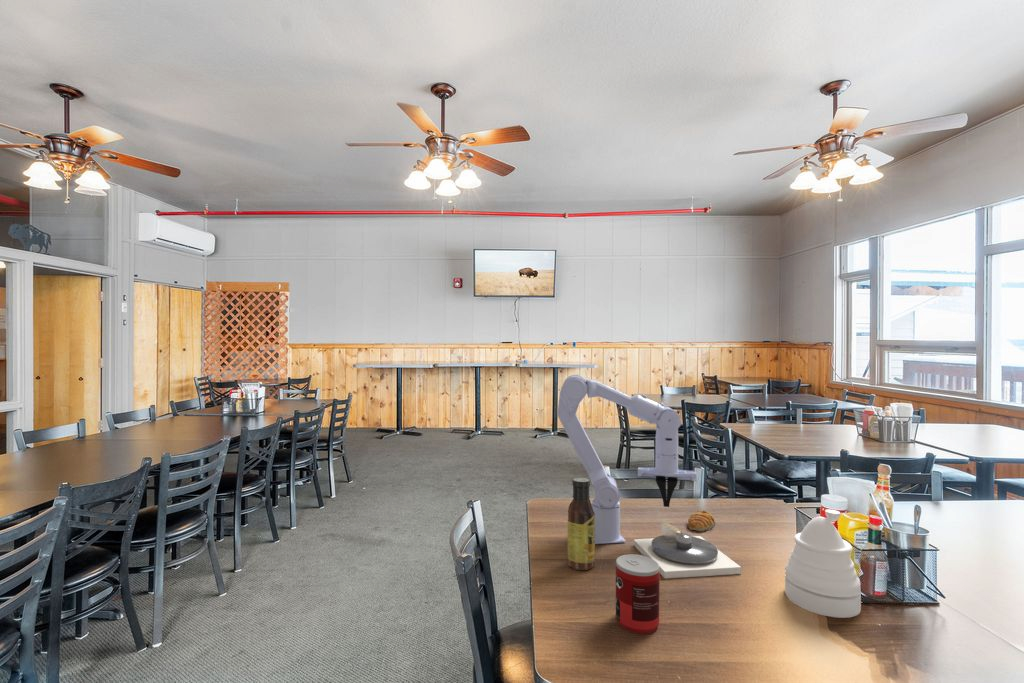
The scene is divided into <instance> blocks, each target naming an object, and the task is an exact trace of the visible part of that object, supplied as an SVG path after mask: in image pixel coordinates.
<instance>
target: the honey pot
mask: <svg viewBox="0 0 1024 683" xmlns="http://www.w3.org/2000/svg"><path fill="white" fill-rule="evenodd" d="M824 512H825V516H826V517H824V516H815V517H814V518H812V519H811V520H809V522H807V524H806V525H805V526H804V528H803V529H802V531H801V532H797V533H796V534H795V535H794V537H793V539H794V542H795V545H794V547H793V548H792V550H791V552H790V556H789V558H788V562H787V563H786V565H785V568H784V570H785V573H784V574H785V576H784V585H785V586H784V589H785V591H784V592H785V596H786V597H787V598H788V600H789V601H791V602H792V603H793V604H795V605H796V606H798V607H800V608H802V609H804V610H805V611H808V612H811V613H814V614H818V615H821V616H826V617H830V618H840V619H841V618H843V619H844V618H852V617H857V616H858V615H860V613H861V610H862V606H861V604H862V598H861V597H862V596H861V595H862V593H861V580H860V579H859V577H858V574H857V571H856V569H855V563H854V561H853V560H852V558H851V556H850V554H852V552H853V546H852V545H851V543H850V542H848V541H847V540H845V539H843V537H842V536H841V534H840V532H839V530H838V529H837V528H836V526H835V525H834V524H833V523H832V522H836V521H838V520H839V519H840V517H841V511H838V510H836V509H829V508H828V509H827V508H826V509H825V510H824Z"/></svg>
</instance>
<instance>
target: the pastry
mask: <svg viewBox="0 0 1024 683" xmlns="http://www.w3.org/2000/svg"><path fill="white" fill-rule="evenodd" d="M687 521H688V522H687V523H688V524H687V525H688V529H690V530H694V531H698V532H701V531H703V532H705V531H704V530H706V531H710V530H711V529H712V528H714V527H715V525H716V523H717V521H716V520H715V517H714V516H713V515H712V513H711V512H709V511H707V510H697V511H695V512H694V513H692V514H691V515H690V516H689V518H688V519H687ZM710 528H711V529H710ZM709 529H710V530H709Z"/></svg>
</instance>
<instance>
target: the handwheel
mask: <svg viewBox="0 0 1024 683" xmlns="http://www.w3.org/2000/svg"><path fill="white" fill-rule="evenodd" d="M692 536H693V535H691V534H689V533H687V532H683V531H682V530H681V529H680V528H677V527H675V526H673V525H671V524H669V523H668V522H663V523H661V535H659V536H656V537H654V539H653V540H652V542H651V547H652V550H653V552H654V553H656V554H657V555H658V556H660V557H662V558H664V559H667V560H670V561H673V562H677V563H682V564H691V565H700V564H707V563H711V562H713V561H715V560H716V559H717V557H718V550H719V549H718V548H717V547H716V546H715V545H714V544H713V543H711V542H709V541H707V540H706V539H705V540H706V541H705V540H703V539H704V538H703V539H700V538H696V537H692ZM717 549H718V550H717Z"/></svg>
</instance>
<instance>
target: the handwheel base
mask: <svg viewBox="0 0 1024 683" xmlns="http://www.w3.org/2000/svg"><path fill="white" fill-rule="evenodd" d="M691 536H692V537H696V538H700V539H703V540H705V541H707V540H706V539H705V538H703V537H702V536H701V535H691ZM654 538H655V537H654ZM654 538H639V539H638V538H637V539H633V546H634V547H635V549H636V550H638V551H639V553H640V554H641V555H642V554H643V555H642V556H646V557H649V558H651V559H653V560H655V561H656V562H657V563H658V564H659V575H661V576H662V577H663V579H677V578H678V579H680V578H694V577H708V576H709V577H711V576H726V575H727V576H728V575H740V574H742V566H740V565H739V564H738V563H737V562H735V561H734V560H732V559H731V558H729V557H728V556H727V555H726V554H725V553H723V552H722V551H721V550H719V549H718V548H717V550H718V557H717V559H716V560H715V561H713V562H711V563H707V564H700V565H691V564H682V563H677V562H673V561H670V560H667V559H664V558H662V557H660V556H658V555H657V554H656V553H654V552H653V550H652V547H651V542H652V540H653V539H654Z"/></svg>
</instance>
